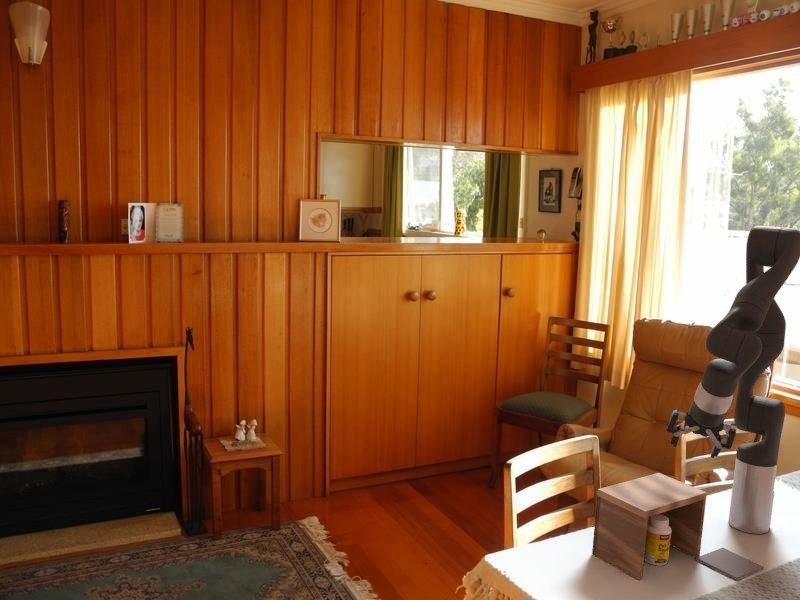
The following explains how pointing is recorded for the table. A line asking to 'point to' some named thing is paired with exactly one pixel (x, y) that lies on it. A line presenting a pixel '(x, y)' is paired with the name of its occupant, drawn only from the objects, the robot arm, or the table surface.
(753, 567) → the mat
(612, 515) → the cubby
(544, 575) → the table surface
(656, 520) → the supplement bottle
